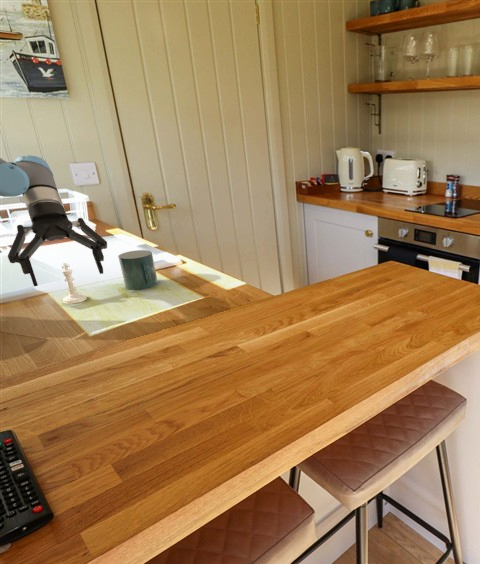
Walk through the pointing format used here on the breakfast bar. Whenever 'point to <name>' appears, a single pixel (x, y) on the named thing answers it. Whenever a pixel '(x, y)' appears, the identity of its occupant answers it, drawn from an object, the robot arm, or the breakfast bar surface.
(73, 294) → the chess piece
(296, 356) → the breakfast bar surface
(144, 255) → the cup
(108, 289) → the breakfast bar surface
